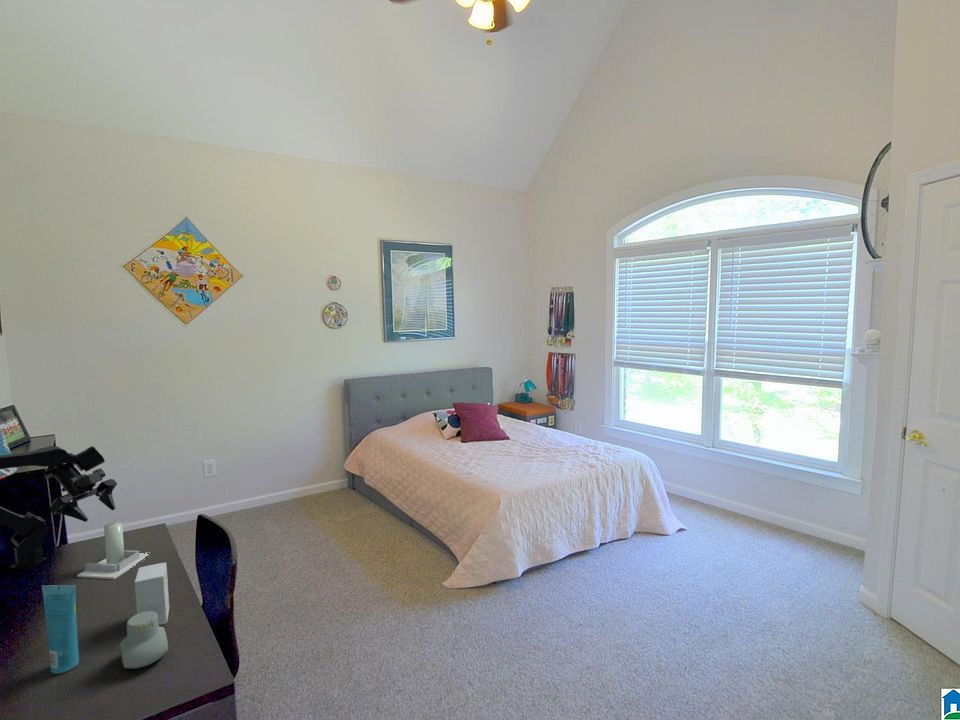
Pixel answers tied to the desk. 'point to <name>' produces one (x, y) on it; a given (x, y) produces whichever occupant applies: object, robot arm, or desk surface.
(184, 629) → the desk surface
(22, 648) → the desk surface
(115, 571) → the white railed tray
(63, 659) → the tube
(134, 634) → the air freshener
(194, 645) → the desk surface
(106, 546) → the domed peg
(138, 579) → the small box
